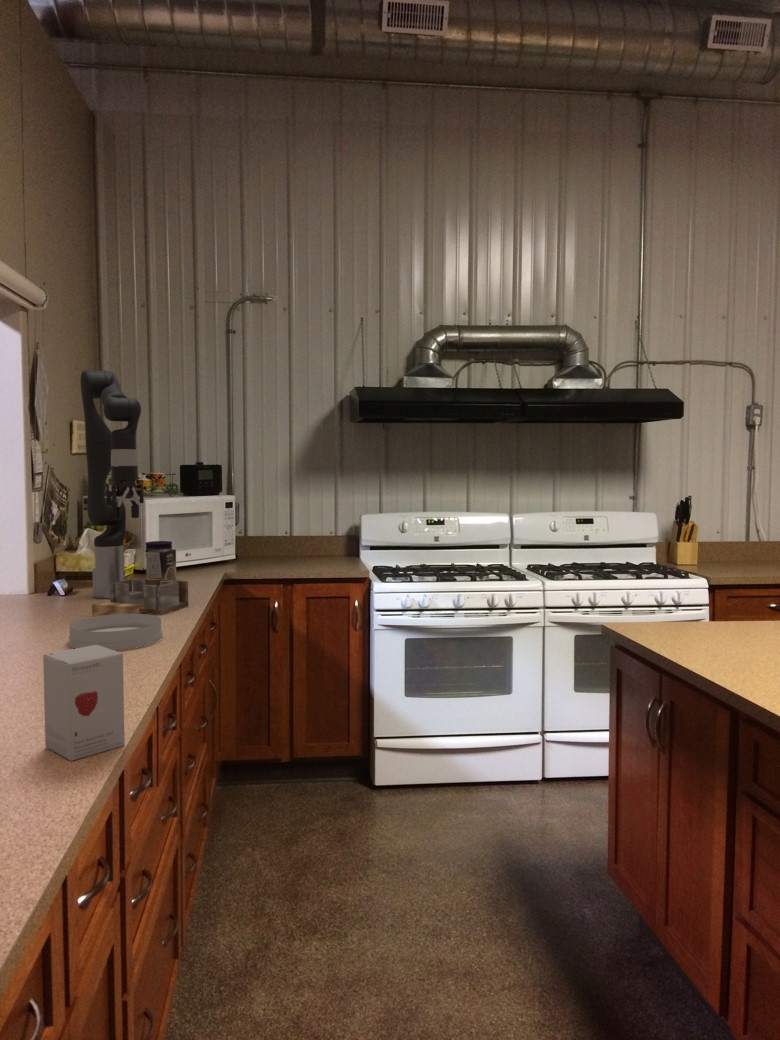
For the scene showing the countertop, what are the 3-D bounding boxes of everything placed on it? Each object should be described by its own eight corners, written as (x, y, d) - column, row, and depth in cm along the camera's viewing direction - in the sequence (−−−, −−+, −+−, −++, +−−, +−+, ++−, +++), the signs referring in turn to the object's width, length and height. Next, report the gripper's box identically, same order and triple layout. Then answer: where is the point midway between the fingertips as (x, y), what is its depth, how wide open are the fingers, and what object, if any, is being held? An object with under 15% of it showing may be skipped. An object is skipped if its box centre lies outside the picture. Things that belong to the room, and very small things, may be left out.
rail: (92, 619, 214) (92, 604, 213) (101, 617, 217) (101, 601, 217) (130, 622, 210) (130, 607, 209) (139, 620, 213) (139, 604, 213)
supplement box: (70, 762, 110) (67, 663, 109) (44, 747, 116) (40, 653, 115) (127, 745, 117) (124, 652, 116) (99, 732, 123) (96, 643, 122)
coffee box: (164, 601, 241) (163, 552, 240) (146, 600, 242) (144, 551, 241) (177, 596, 250) (176, 549, 249) (160, 596, 251) (159, 548, 250)
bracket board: (110, 611, 225) (109, 583, 224) (139, 603, 238) (139, 576, 238) (161, 614, 219) (160, 586, 219) (188, 606, 233) (187, 579, 232)
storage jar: (140, 582, 280) (139, 543, 279) (157, 578, 289) (156, 540, 288) (161, 584, 276) (160, 544, 275) (178, 580, 285) (177, 541, 284)
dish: (92, 631, 199) (91, 613, 198) (174, 632, 198) (173, 613, 198) (52, 652, 177) (51, 631, 176) (144, 653, 176) (143, 632, 176)
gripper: (128, 465, 230) (130, 517, 231) (97, 464, 217) (100, 520, 218) (149, 464, 228) (151, 517, 229) (119, 464, 215) (121, 520, 216)
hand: (126, 518), depth 223 cm, fingers open, 8 cm apart
